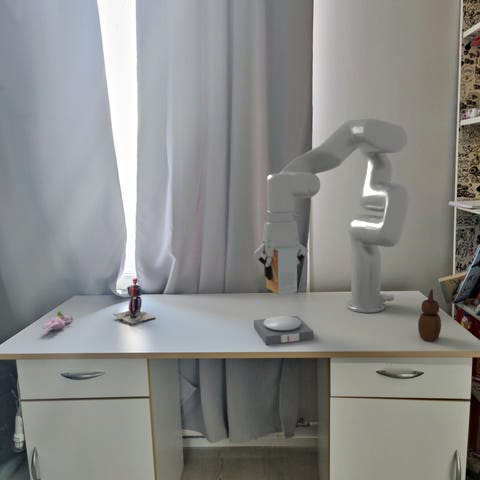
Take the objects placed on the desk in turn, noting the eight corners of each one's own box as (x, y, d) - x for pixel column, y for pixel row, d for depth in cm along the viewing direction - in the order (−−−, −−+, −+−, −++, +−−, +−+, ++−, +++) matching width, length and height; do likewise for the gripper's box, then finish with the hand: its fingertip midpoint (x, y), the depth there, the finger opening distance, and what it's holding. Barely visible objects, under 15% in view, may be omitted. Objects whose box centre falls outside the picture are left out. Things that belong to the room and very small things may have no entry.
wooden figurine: (437, 345, 134) (439, 291, 131) (415, 341, 137) (417, 289, 134) (442, 336, 139) (444, 285, 137) (421, 333, 143) (422, 283, 140)
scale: (297, 323, 154) (297, 312, 153) (314, 340, 140) (314, 328, 139) (254, 327, 151) (253, 317, 151) (266, 345, 137) (266, 333, 136)
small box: (265, 288, 146) (264, 245, 144) (284, 285, 148) (284, 243, 146) (278, 295, 139) (277, 249, 136) (297, 292, 141) (297, 247, 139)
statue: (155, 322, 163) (157, 279, 159) (131, 329, 156) (132, 285, 153) (136, 311, 170) (137, 270, 167) (112, 318, 164) (112, 275, 160)
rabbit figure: (59, 325, 164) (36, 334, 149) (59, 307, 164) (36, 314, 149) (77, 325, 163) (56, 334, 148) (77, 307, 163) (55, 314, 148)
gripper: (305, 214, 145) (305, 272, 148) (247, 217, 142) (249, 277, 145) (314, 217, 138) (314, 278, 141) (254, 220, 134) (255, 283, 137)
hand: (281, 277), depth 143 cm, fingers closed on small box, 7 cm apart
